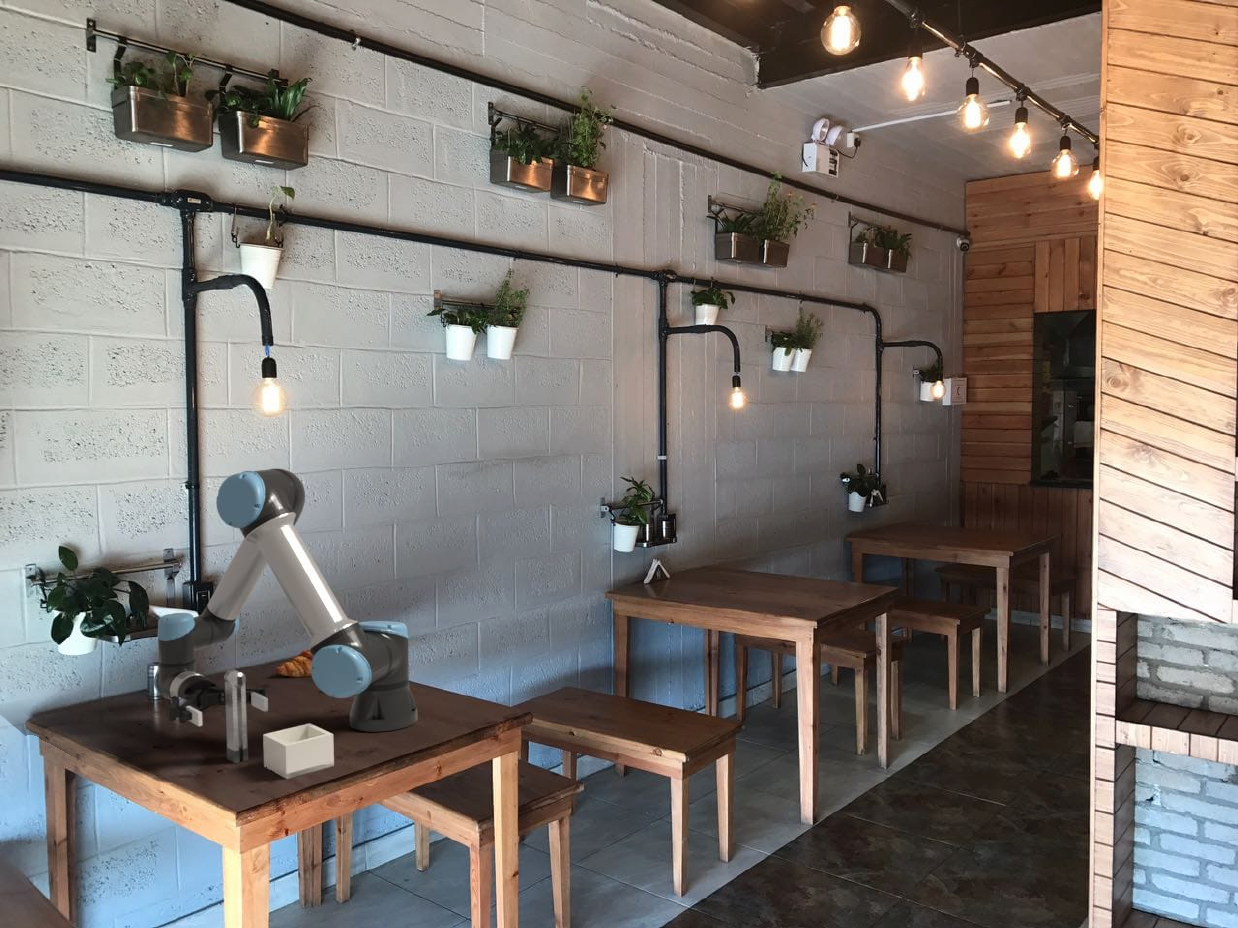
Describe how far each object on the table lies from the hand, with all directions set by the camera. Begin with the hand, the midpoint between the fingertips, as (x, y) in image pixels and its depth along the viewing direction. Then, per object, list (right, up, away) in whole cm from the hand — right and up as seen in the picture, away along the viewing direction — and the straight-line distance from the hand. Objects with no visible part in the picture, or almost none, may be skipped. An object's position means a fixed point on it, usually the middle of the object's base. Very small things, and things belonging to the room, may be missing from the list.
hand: (234, 711), depth 204 cm
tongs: (0, -10, +1) cm, 10 cm away
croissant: (-4, -7, +69) cm, 69 cm away
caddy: (+15, -10, -4) cm, 18 cm away
